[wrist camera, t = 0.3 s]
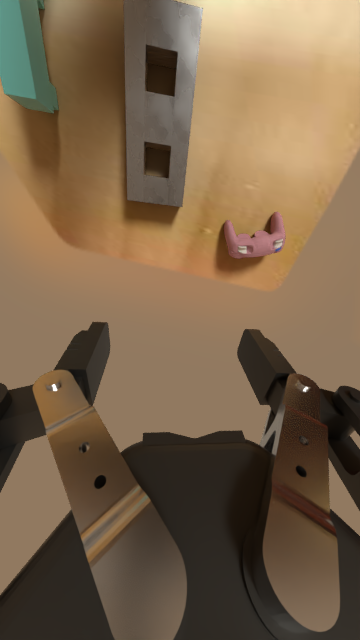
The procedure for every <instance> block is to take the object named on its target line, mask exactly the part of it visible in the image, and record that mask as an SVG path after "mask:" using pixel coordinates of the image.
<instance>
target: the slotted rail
mask: <svg viewBox="0 0 360 640" xmlns="http://www.w3.org/2000/svg"><path fill="white" fill-rule="evenodd" d="M202 12H203V8H200V7H196V6H192V5H188V4H185V3H181V2H177V1H173V0H124V48H125V103H126V157H127V200H131V201H139V202H147V203H154V204H162V205H170V206H178V207H182V204H183V194H184V185H185V175H186V166H187V156H188V146H189V137H190V127H191V118H192V108H193V98H194V89H195V79H196V70H197V60H198V50H199V41H200V31H201V21H202ZM148 63H150V64H154V65H159V66H163V67H168V68H173V69H176V74H175V88H174V97H173V96H168V95H163V94H158V93H153V92H148V91H147V64H148ZM146 147H147V148H153V149H159V150H165V151H170V161H169V176H168V178H163V177H156V176H149V175H145V164H146Z"/></svg>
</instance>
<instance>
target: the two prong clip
mask: <svg viewBox="0 0 360 640" xmlns="http://www.w3.org/2000/svg"><path fill="white" fill-rule="evenodd" d="M38 8H40V9H44V2H43V0H0V77H1V81H2V86H3V90H4V94H6V95H7V96H9V97H10V98H12V99H13V100H15V101H16V102H18V103H19V104H21V105H22V106H24V107H25V108H27V109H31V110H37V111H43V112H48V113H54V110H59V108H58V101H57V94H56V88H55V87H54V86H53V85H52V84H51V83H50V82H49V77H48V70H47V63H46V57H45V50H44V43H43V37H42V30H41V23H40V17H39V10H38Z"/></svg>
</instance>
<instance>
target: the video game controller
mask: <svg viewBox="0 0 360 640" xmlns="http://www.w3.org/2000/svg"><path fill="white" fill-rule="evenodd" d="M224 234H225V239H226V243H227V246H228V253H229V255H230V256H231V257H233V258H238V259H240V258H244V257H260V256H265V255H268V254H272V253H277V252H280V251H281V250H282V248H283V246H284V243H285V230H284V225H283V220H282V216H281V215H280V213H279V212H274V214H273V215H272V218H271V234H269V233H267V232H265V231H257V232H255V235H254V237H253V238H250V236H249V235H248V234H239V235H238V236H236V234H235V231H234V228H233V224H232V223H231V221H229V220H227V221H226V222H225V224H224Z"/></svg>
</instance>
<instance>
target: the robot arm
mask: <svg viewBox="0 0 360 640" xmlns="http://www.w3.org/2000/svg"><path fill="white" fill-rule="evenodd" d="M109 353H110V339H109V328H108V323H107V322H92V324H91V326H90V328H89V329H88V331H81V332H79V333H78V334H77V335H75V336H74V338H73V339H72V341H71V343H70V344H69V346H68V347H67V350H66V351H65V352H64V354H63V356H62V357H61V359H60V360H59V362H58V364H57V365H56V367H55V369H54V370H53V371H51V372H48V373H46V374H44V375H42V376H41V377H39V378H38V379H37V380H36V381H35V383H34V384H33V385H30V386H26V387H21V388H17V389H12V390H8V389H7V387H6V386H5V385H4V384H2V383H0V492H1V490H2V488H3V486H4V484H5V482H6V480H7V478H8V476H9V474H10V472H11V470H12V468H13V465H14V463H15V461H16V459H17V457H18V455H19V453H20V451H21V449H22V447H23V445H24V443H25V441H28V440H31V439H34V438H37V437H40V436H43V435H47V437H48V440H49V443H50V446H51V449H52V452H53V455H54V458H55V461H56V464H57V467H58V470H59V473H60V476H61V479H62V482H63V485H64V488H65V491H66V493H67V497H68V500H69V503H70V506H71V511H70V512H69V513H68V514H67V515H66V517H65V518H64V519H63V520H62V521H61V523H60V524H59V525H58V526H57V527H56V529H55V530H54V531H53V532H52V533H51V535H50V536H49V537H48V538H47V539H46V541H45V542H44V543H43V544H42V545H41V547H40V548H39V549H38V550H37V552H36V553H35V554H34V555H33V556H32V557H31V559H30V560H29V561H28V562H27V564H26V565H25V566H24V567H23V568H22V569H21V571H20V572H19V573H18V574H17V576H16V577H15V578H14V579H13V580H12V582H11V583H10V584H9V585H8V586H7V588H6V589H5V590H4V591H3V592H2V594H1V595H0V640H360V536H359V535H358V534H357V533H356V532H355V531H354V530H353V529H352V528H350V527H349V526H348V525H347V524H346V523H345V522H344V521H343V520H342V519H341V518H340V517H338V515H336V513H334V512H333V511H332V510H331V509H330V498H329V459H330V461H331V462H332V464H333V466H334V468H335V470H336V471H337V473H338V475H339V477H340V478H341V480H342V481H343V483H344V485H345V487H346V488H347V490H348V491H349V493H350V495H351V497H352V498H353V500H354V502H355V504H356V505H357V507H358V509H359V510H360V449H359V448H358V447H357V445H356V444H355V442H354V441H353V440H352V438H351V437H350V435H351V433H352V432H353V431H356V432H357V433H358V434H359V436H360V391H359V390H357V389H355V388H352V387H349V386H340V387H339V388H338V389H337V391H336V392H331V391H327V390H324V389H320V388H319V387H318V385H317V384H316V383H315V382H314V381H313V380H311V379H310V378H308V377H307V376H304V375H302V374H297V373H296V372H295V370H294V369H293V368H292V366H291V365H290V364H289V363H288V361H287V360H286V359H285V357H284V356H283V355H282V353H281V352H280V351H279V349H278V348H277V347H276V346H275V344H274V343H273V342H271V341H270V340H269V339H267V338H265V337H264V336H263V335H262V333H261V332H260V330H256V329H245V330H244V332H243V335H242V338H241V341H240V344H239V347H238V352H237V355H238V359H239V361H240V363H241V365H242V367H243V369H244V372H245V373H246V376H247V378H248V380H249V382H250V384H251V386H252V388H253V390H254V393H255V395H256V397H257V399H258V401H259V403H260V405H270V407H271V409H270V410H269V413H268V416H267V420H266V423H265V427H264V431H263V434H262V438H261V442H260V444H259V445H258V444H256V443H254V442H252V441H249V440H246V439H245V438H244V435H243V432H242V431H218V432H215V433H212V434H208V435H206V436H202V437H199V438H190V437H186V436H182V435H178V434H174V433H170V432H160V433H143V441H141V442H138V443H136V444H133V445H131V446H130V447H128V448H126V449H125V450H123V451H122V452H121V453H120V452H119V450H118V448H117V446H116V444H115V443H114V441H113V439H112V437H111V436H110V434H109V432H108V431H107V429H106V427H105V426H104V424H103V422H102V420H101V418H100V417H99V415H98V413H97V411H96V410H95V408H94V407H93V406H92V405H93V403H94V400H95V397H96V394H97V390H98V387H99V384H100V381H101V378H102V375H103V372H104V369H105V366H106V363H107V359H108V357H109ZM90 405H91V406H90Z"/></svg>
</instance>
